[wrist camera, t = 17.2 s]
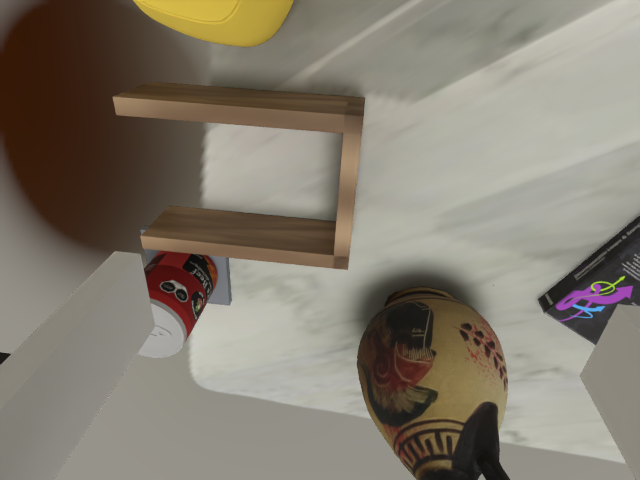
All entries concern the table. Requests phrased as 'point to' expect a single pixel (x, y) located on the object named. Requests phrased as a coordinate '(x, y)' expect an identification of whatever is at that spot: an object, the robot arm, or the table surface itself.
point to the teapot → (221, 18)
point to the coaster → (223, 276)
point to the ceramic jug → (435, 385)
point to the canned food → (176, 298)
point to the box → (598, 286)
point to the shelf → (246, 228)
